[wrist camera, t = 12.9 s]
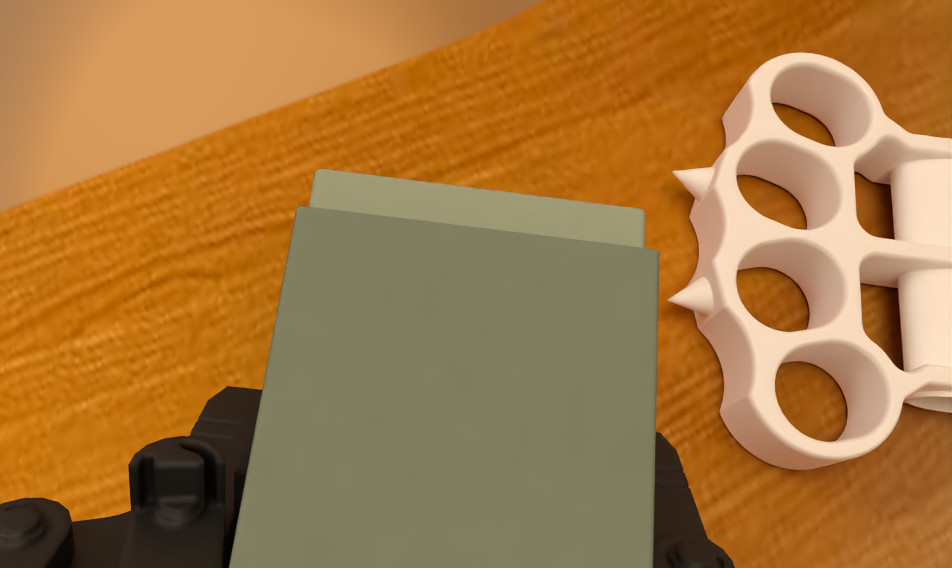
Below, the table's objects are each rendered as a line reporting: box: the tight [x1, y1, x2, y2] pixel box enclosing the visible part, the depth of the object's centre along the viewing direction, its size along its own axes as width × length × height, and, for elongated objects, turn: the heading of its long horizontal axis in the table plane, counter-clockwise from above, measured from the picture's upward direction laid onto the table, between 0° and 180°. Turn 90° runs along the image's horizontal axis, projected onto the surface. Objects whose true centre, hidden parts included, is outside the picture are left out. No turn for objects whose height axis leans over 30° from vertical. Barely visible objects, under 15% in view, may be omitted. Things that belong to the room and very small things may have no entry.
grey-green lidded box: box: [229, 169, 659, 568], centre depth 15 cm, size 5×8×12 cm, turn 175°
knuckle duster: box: [667, 53, 952, 470], centre depth 35 cm, size 3×18×15 cm
